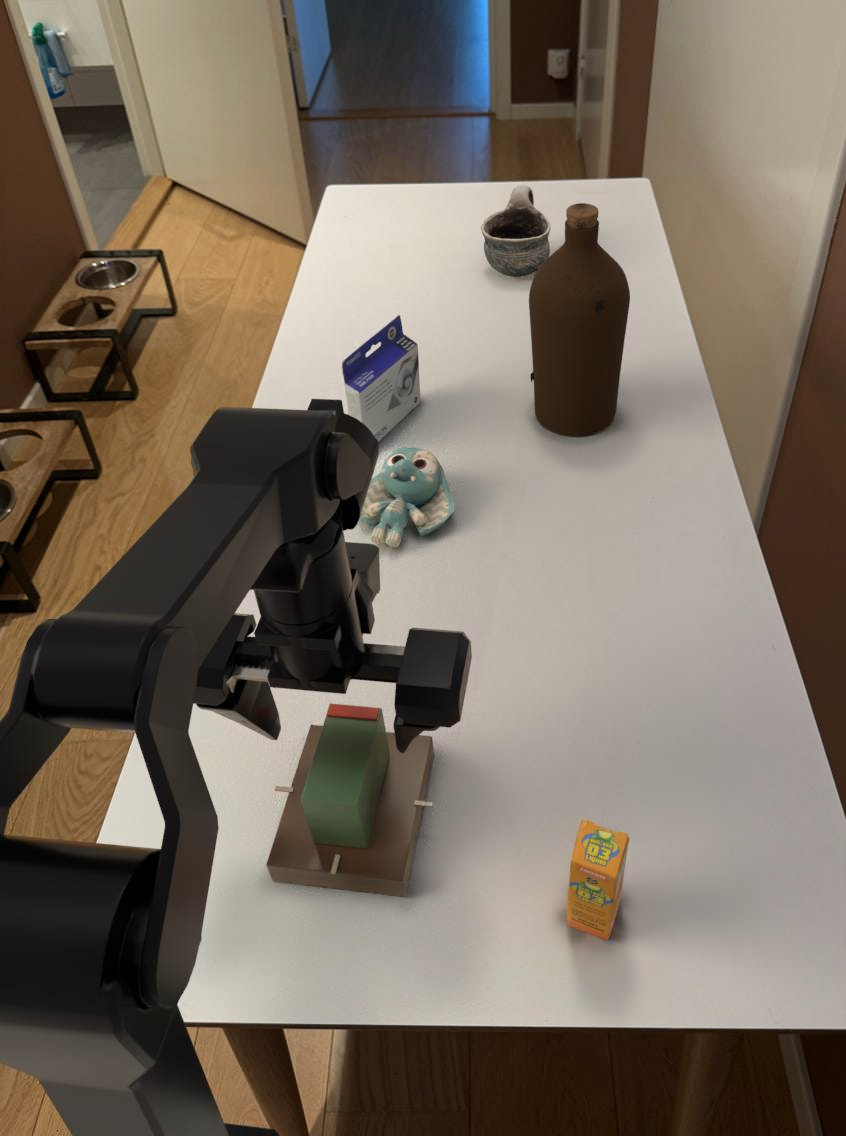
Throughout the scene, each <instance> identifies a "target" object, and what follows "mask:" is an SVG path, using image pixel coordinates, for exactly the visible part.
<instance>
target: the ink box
mask: <svg viewBox="0 0 846 1136" xmlns="http://www.w3.org/2000/svg"><path fill="white" fill-rule="evenodd" d="M379 343H380V345H379V346H378V347H377V348H376V349H375V350H373V352H371V353H369V355H368V356H366V355H367V353H368V352H370V350H371V349H372V347H373V346H376V345H378V344H379ZM419 360H420V359H419V344H418V343H417V342H416V341H414V340H413V339H411V338H410V337H409V335H407V334H404V331H403V324H402V318H401V315H400V314H398V315H397V316H396V317H394V318H393V319H392V320H391V321H390V322H388V323H387V324H386V325H385V326H384V327H382V328H381V329H380V330H379V331H378V332H375V334H373V335H372V336H371V337H370V338H369V339H367V340H366V341H365V342H364V343H363V344H361V345H360V346H359V347H357V348H356V349H355V350H354V351H353V352H351V354H349V355H348V356H347V357H345V358H344V359H343V360H342V361H341V371H342V377H343V382H344V383H343V384H344V390H345V395H346V396H345V398H346V407H347V412H348V415H350V416H352V417H354V418H356V419H358V420H359V421H360V422H362V423H363V424H364V425H366V426H367V427H368V429H369V430H370V431H371V432H372V433H373V435H374V437H375V438H376V439H377V440H378V443H379V442H380V441H381V440H383V438H384V437H386V435H387V434H388V433H389V432H390V431H392V429H394V428H395V427H396V426H397V425H398V424H399V423H400V422H401V421H402V420H403V419H404V418H405V417H407V415H408V414H409V413H411V412H412V411H413V410H414V409H415V408H416V407H417V406H418V405H419V404H420V403H421V384H420V382H421V381H420V361H419Z"/></svg>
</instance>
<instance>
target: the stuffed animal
mask: <svg viewBox="0 0 846 1136" xmlns="http://www.w3.org/2000/svg"><path fill="white" fill-rule="evenodd" d="M444 470H445V469H444V467H443V466H442V464H440V462H439V459H438V458H437V456H436V455H435V454H433V452H431V451H429V450H426V449H424V448H420V447H407V446H401V447H398V448H396V449H395V450H394V451H393V452H391V454H390V455H389V456H388V457H387V458H386V459H385V460H384V462H383V464H382V467H381V470H380V472H379V473H377V474H376V475H375V476H373V477H372V479H371V482H370V486H369V489H368V492H367V496H366V499H365V502H364V505H363V509H362V512H361V515H360V518H361V519H362V520H363V521H364V522H365V523H366V524H367V525H368V526H371V525H374V524H377V523H378V524H377V525H375V527H374V528H373V530H372V532H371V533H372V534H371V537H370V540H371V541H372V542H373V543H374V544H375V545H376V544H377V545H383V544H384V542H385V543H386V545H387V546H389V547H391V548H399V546H400V544H401V541H402V538H403V532H404V529H405V528H406V526H407V525H408V522H409V514H410V518H411V520H412V521H413V524H414V525H415V527H416V529H417V532H418V533H419V535H420V536H421V537H422V536H425V535H426V536H427V535H428V534H430V533H432V532H433V531H435V530H437V529H439V528H441V527H442V526H443V524H444V523H445V522H446V521H447V520H448V519H449V518H450V517H451V515H452V514H453V513H454V512H455V500H454V498H453V495H452V493H451V490H450V487H449V484H448V481H447V479H446V474H445V471H444ZM416 506H421V507H420V508H417V507H416ZM388 529H389V530H388Z"/></svg>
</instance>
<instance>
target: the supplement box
mask: <svg viewBox="0 0 846 1136" xmlns="http://www.w3.org/2000/svg"><path fill="white" fill-rule="evenodd" d="M575 837H576V838H575V842H574V845H573V849H572V854H571V858H570V862H569V863H570V864H569V876H568V891H567V905H566V925H567V926H568V927H570V928H573V929H576V930H579V931H581V932H583V933H587V934H589V935H592V936H595V937H598V938H601V939H602V940H606V941H609V938H610V936H611V934H612V930H613V927H614V924H615V921H616V918H617V915H618V911H619V908H620V905H621V900H622V893H623V884H624V876H625V870H626V862H627V855H628V849H629V844H630V836H629V834H628V833H626V832H623V831H616V830H615V831H614V830H612V829H610V828H606V827H603V826H600V825H598V824H595V823H594V822H593V821H590V820H588V819H584V818H582V819H580V822H579V827H578V830H577V834H576V836H575Z"/></svg>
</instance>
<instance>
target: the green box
mask: <svg viewBox="0 0 846 1136" xmlns="http://www.w3.org/2000/svg"><path fill="white" fill-rule="evenodd" d="M323 721H324V722H323V724H322V726H323V727H322V731H321V734H320V737H319V741H318V744H317V747H316V750H315V754H314V757H313V760H312V763H311V767H310V770H309V773H308V777H307V780H306V783H305V786H304V790H303V793H302V796H301V802H302V805H303V808H304V812H305V815H306V818H307V822H308V825H309V828H310V831H311V835H312V838H313V841H314V843H320V844H328V845H337V846H346V847H355V848H364V849H367V848H368V844H369V840H370V835H371V831H372V827H373V823H374V819H375V814H376V810H377V806H378V802H379V798H380V793H381V789H382V785H383V781H384V777H385V772H386V768H387V764H388V760H389V756H390V752H389V746H388V740H387V735H386V732H387V729H386V723H385V718H384V713H383V708H382V707H374V706H373V707H372V706H364V705H363V706H362V705H353V704H352V705H351V704H341V703H329V705H328V708H327V712H326V715H325V718H324V720H323Z"/></svg>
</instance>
